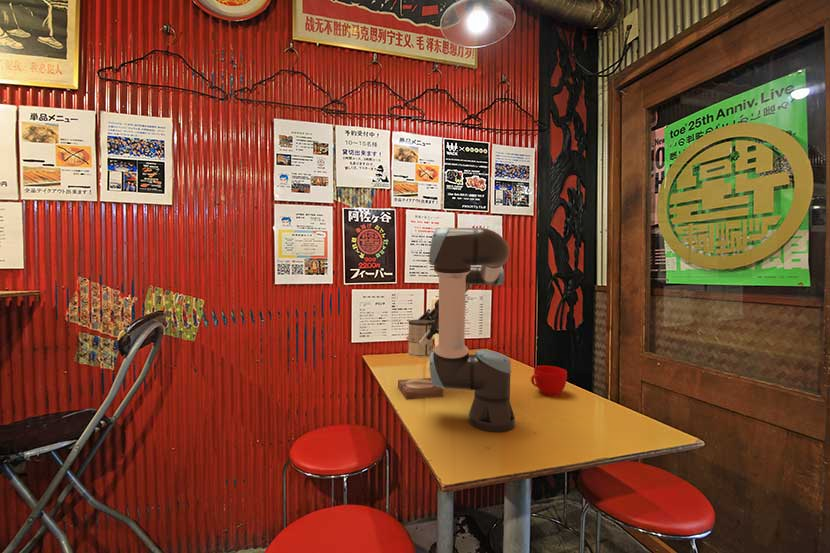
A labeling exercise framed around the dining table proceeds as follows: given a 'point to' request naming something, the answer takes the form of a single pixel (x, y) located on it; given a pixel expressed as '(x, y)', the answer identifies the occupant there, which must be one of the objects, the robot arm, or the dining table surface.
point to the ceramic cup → (549, 379)
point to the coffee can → (419, 338)
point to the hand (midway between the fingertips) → (414, 342)
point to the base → (419, 388)
